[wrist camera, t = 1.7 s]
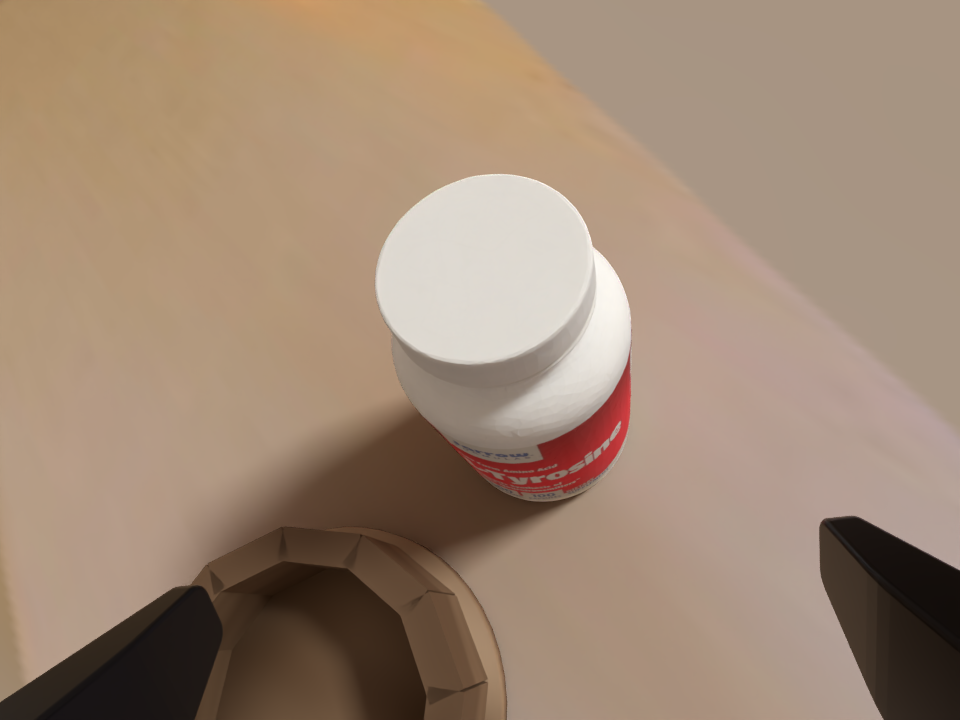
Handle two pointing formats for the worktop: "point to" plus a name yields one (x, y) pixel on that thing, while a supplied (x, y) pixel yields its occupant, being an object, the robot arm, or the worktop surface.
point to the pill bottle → (510, 333)
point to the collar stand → (348, 632)
